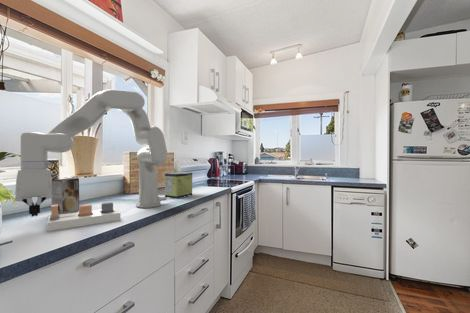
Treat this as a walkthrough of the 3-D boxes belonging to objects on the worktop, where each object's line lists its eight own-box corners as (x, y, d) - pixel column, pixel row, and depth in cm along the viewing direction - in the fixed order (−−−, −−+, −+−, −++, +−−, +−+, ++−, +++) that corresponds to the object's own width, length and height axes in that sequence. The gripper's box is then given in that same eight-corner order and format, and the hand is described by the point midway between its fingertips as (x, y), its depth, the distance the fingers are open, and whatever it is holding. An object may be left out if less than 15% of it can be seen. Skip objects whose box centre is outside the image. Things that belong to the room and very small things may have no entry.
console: (114, 214, 108) (114, 207, 108) (120, 219, 98) (120, 212, 98) (48, 223, 93) (48, 215, 93) (47, 231, 84) (47, 222, 84)
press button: (91, 214, 99) (91, 204, 99) (92, 217, 95) (92, 206, 95) (78, 216, 96) (78, 205, 96) (79, 218, 93) (79, 207, 92)
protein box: (192, 195, 159) (192, 172, 158) (176, 198, 145) (176, 174, 145) (181, 193, 164) (181, 171, 164) (164, 197, 150) (164, 173, 150)
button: (112, 212, 104) (112, 201, 103) (114, 214, 100) (113, 203, 100) (100, 213, 101) (100, 203, 101) (102, 215, 97) (102, 204, 97)
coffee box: (69, 210, 115) (68, 177, 115) (79, 210, 114) (79, 178, 114) (50, 214, 106) (50, 179, 106) (62, 215, 105) (62, 180, 105)
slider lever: (59, 216, 92) (59, 204, 92) (59, 218, 89) (59, 205, 89) (49, 217, 90) (49, 205, 90) (49, 219, 87) (49, 206, 87)
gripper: (59, 165, 93) (59, 210, 93) (8, 166, 84) (8, 216, 84) (59, 165, 87) (60, 214, 87) (4, 167, 78) (4, 221, 78)
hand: (34, 215), depth 86 cm, fingers closed
